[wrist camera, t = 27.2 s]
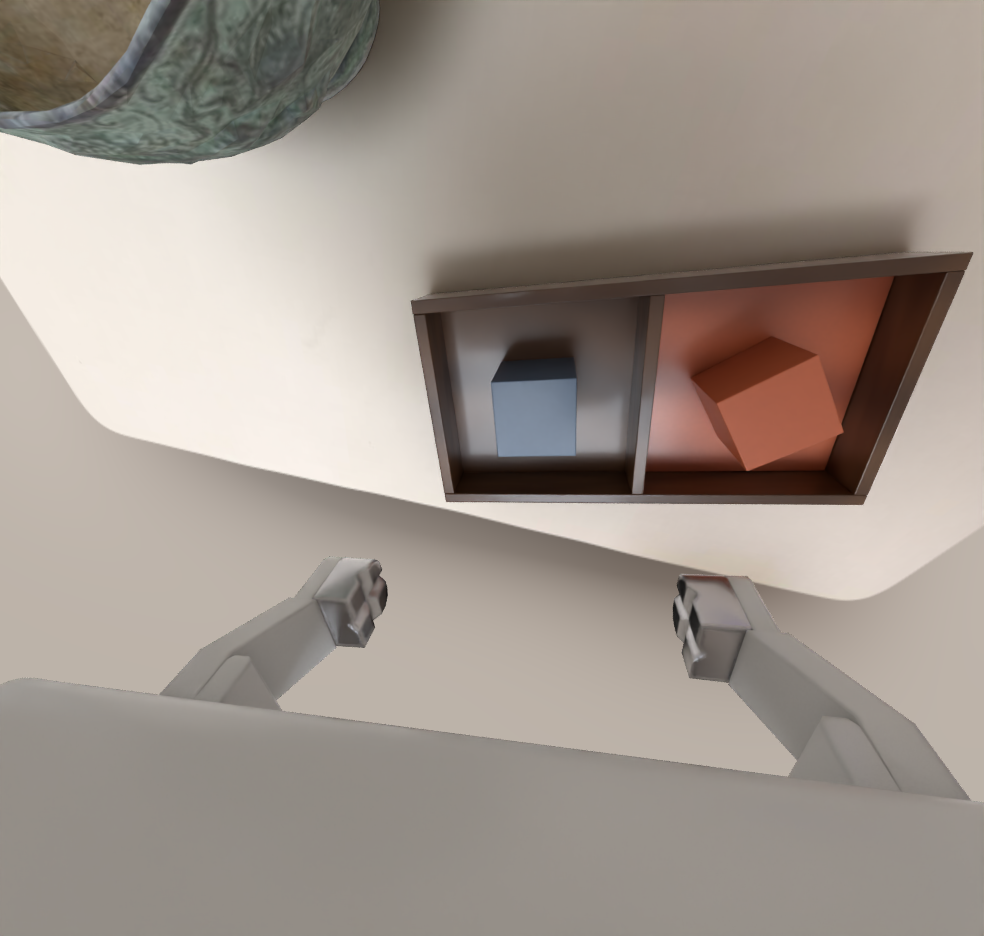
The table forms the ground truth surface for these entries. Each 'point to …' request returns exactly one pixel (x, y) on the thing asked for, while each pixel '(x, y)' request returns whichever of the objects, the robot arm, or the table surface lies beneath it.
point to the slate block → (535, 407)
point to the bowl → (174, 72)
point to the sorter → (683, 376)
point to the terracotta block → (768, 402)
